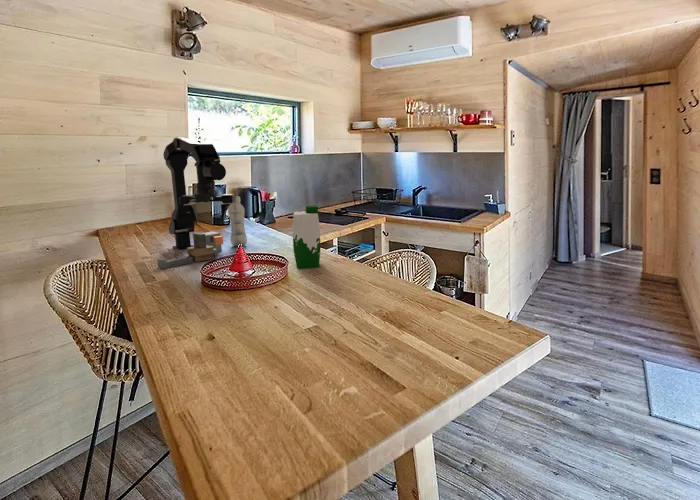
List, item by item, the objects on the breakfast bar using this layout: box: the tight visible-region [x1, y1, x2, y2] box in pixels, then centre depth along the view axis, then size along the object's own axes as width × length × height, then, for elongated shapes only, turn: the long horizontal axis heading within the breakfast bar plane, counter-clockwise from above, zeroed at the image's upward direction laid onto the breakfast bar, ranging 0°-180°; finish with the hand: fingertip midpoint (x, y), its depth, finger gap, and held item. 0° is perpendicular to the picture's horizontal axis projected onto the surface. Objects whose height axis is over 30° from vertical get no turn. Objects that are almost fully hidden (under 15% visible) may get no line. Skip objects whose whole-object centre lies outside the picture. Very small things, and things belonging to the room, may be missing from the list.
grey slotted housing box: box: [202, 231, 223, 252], centre depth 183 cm, size 6×7×7 cm
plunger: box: [210, 235, 224, 246], centre depth 180 cm, size 7×3×3 cm, turn 48°
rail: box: [156, 249, 219, 270], centre depth 165 cm, size 4×21×3 cm, turn 138°
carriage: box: [186, 231, 215, 263], centre depth 168 cm, size 6×7×9 cm
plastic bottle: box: [227, 196, 248, 247], centre depth 190 cm, size 6×7×20 cm
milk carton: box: [292, 205, 322, 269], centre depth 155 cm, size 9×9×20 cm
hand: (209, 223), depth 169 cm, fingers open, 9 cm apart
